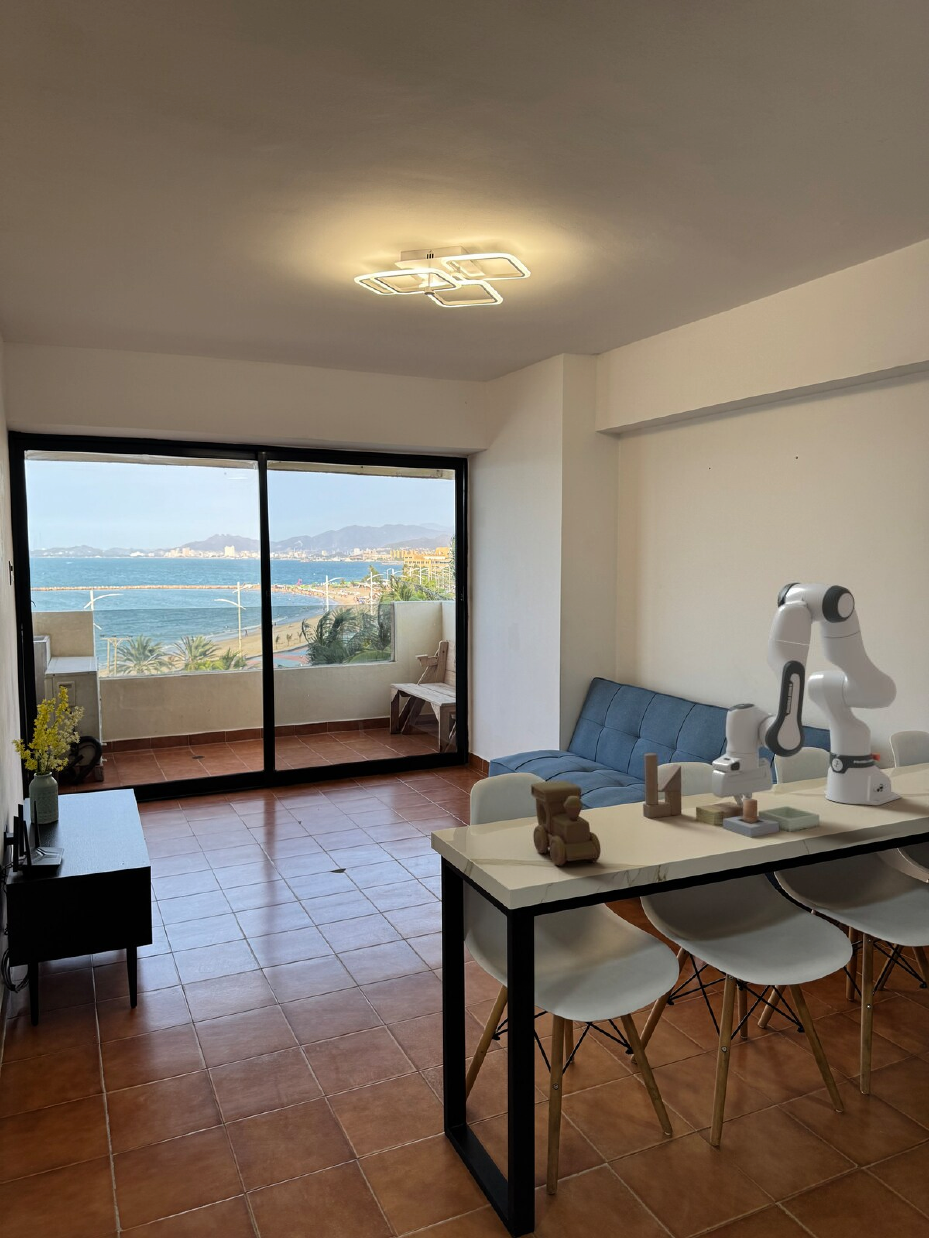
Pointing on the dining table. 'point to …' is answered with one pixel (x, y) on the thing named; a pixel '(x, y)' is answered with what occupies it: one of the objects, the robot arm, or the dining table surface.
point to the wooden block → (661, 789)
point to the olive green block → (709, 815)
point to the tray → (791, 818)
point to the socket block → (751, 826)
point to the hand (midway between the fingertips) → (743, 809)
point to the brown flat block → (728, 809)
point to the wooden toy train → (562, 823)
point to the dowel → (750, 811)
